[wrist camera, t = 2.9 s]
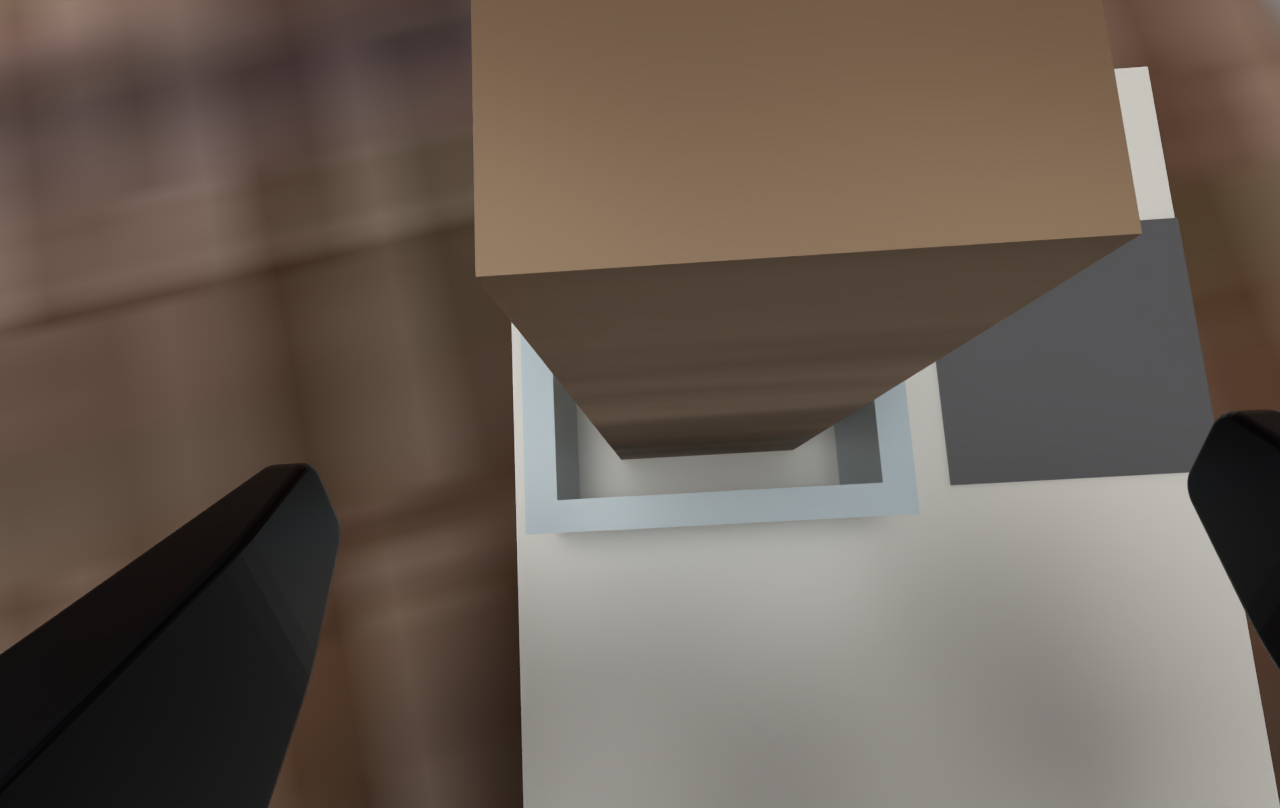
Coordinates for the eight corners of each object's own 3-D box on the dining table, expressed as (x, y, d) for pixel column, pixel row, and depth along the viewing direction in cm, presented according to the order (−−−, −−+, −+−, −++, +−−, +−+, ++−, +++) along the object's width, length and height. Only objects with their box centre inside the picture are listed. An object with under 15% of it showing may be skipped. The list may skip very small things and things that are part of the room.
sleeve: (869, 516, 17) (920, 514, 13) (555, 532, 17) (526, 534, 14) (839, 217, 18) (878, 145, 15) (545, 237, 18) (516, 170, 15)
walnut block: (792, 450, 17) (1141, 234, 4) (621, 459, 17) (476, 276, 5) (778, 284, 18) (1047, -324, 5) (613, 295, 18) (465, -272, 5)
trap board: (1305, 1147, 15) (1352, 1193, 14) (542, 1164, 16) (532, 1210, 15) (1123, 89, 19) (1149, 64, 18) (514, 133, 20) (505, 111, 19)
